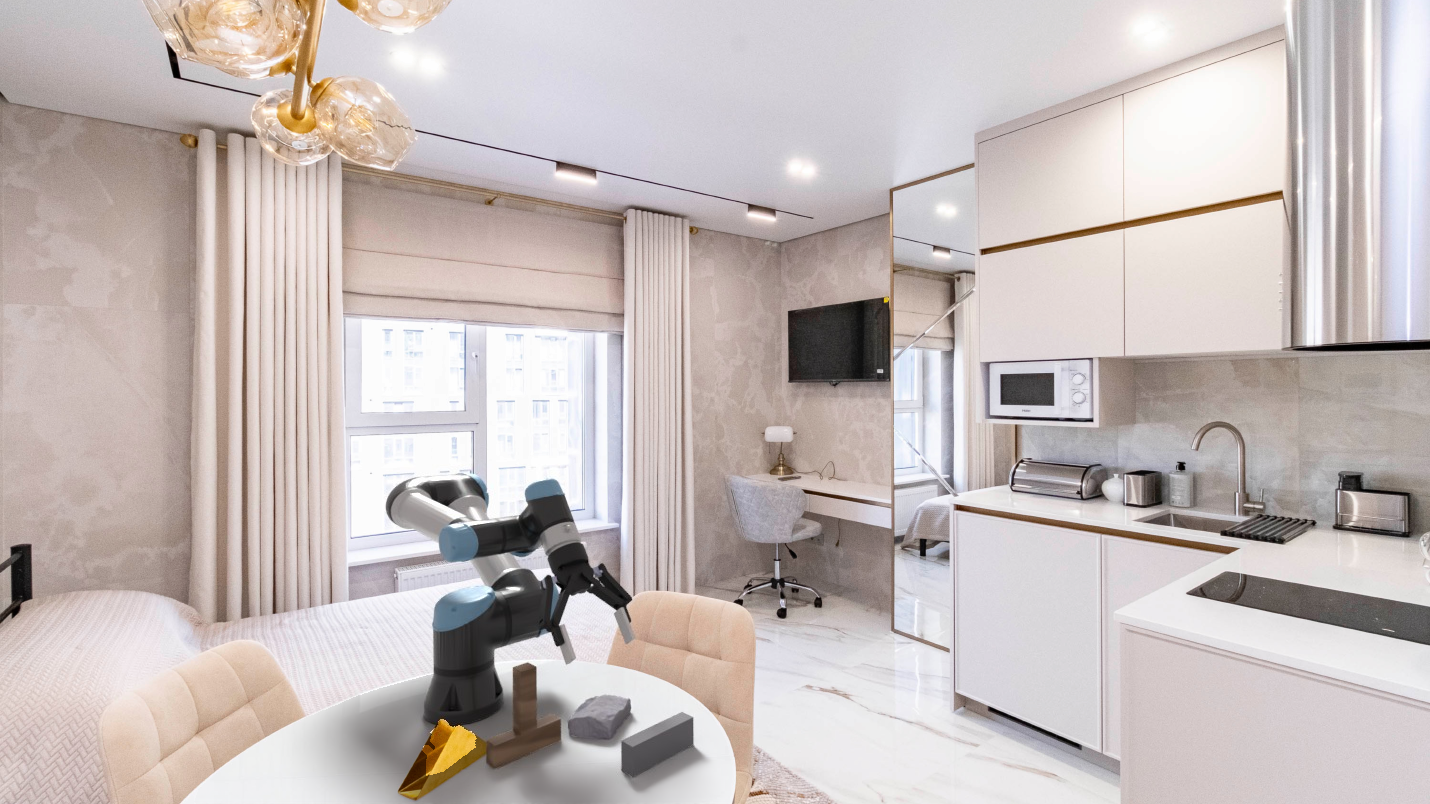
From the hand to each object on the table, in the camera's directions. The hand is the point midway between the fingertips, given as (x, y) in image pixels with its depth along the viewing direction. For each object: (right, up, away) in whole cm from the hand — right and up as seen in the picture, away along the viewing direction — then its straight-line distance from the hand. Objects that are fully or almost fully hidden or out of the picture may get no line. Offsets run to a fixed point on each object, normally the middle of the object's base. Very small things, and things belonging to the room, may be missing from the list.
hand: (602, 651), depth 121 cm
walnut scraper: (-13, -15, -6) cm, 21 cm away
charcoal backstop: (+11, -15, -9) cm, 21 cm away
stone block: (-1, -16, +4) cm, 16 cm away
